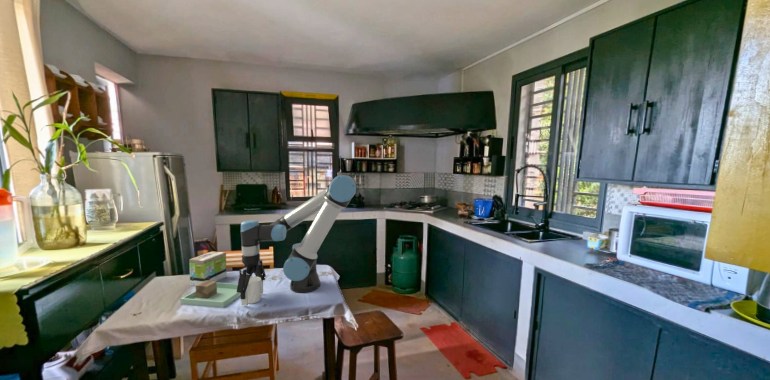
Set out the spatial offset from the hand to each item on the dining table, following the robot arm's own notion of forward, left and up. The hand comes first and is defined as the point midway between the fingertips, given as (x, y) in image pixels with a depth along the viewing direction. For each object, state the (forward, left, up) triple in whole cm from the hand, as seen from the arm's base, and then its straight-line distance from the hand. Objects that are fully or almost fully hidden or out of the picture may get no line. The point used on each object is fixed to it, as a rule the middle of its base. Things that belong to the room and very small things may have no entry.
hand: (252, 299), depth 132 cm
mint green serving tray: (+19, 0, -1) cm, 19 cm away
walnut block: (+24, 0, 0) cm, 25 cm away
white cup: (0, 0, -1) cm, 1 cm away
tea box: (+37, -16, -1) cm, 40 cm away
